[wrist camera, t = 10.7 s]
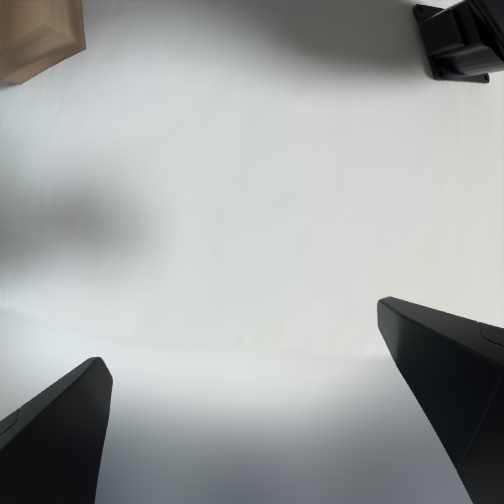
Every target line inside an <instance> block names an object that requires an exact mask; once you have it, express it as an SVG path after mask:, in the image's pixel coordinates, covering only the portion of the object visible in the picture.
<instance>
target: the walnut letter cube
mask: <svg viewBox="0 0 504 504" xmlns="http://www.w3.org/2000/svg"><path fill="white" fill-rule="evenodd" d="M85 49H86V43H85V35H84V25H83V15H82V2H81V0H0V80H3V81H8V82H13V83H17V84H23V83H24V82H26V81H28V80H29V79H31V78H32V77H34V76H36V75H38V74H39V73H41V72H43V71H44V70H46V69H48V68H50V67H52V66H53V65H55V64H57V63H59V62H61V61H63V60H65V59H67V58H69V57H71V56H73V55H75V54H77V53H79V52H81V51H83V50H85Z"/></svg>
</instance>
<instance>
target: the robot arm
mask: <svg viewBox="0 0 504 504" xmlns="http://www.w3.org/2000/svg"><path fill="white" fill-rule="evenodd" d="M418 9H419V10H420V11H421V12H420V11H419V10H418ZM413 12H414V14H415V17H416V20H417V23H418V25H419V28H420V31H421V34H422V37H423V41H424V44H425V47H426V50H427V54H428V57H429V61H430V65H431V68H432V72H433V75H434V77H435V79H436V80H438V81H456V82H471V83H483V84H485V83H489V75H488V73H492V72H498V71H504V0H463V1H461V2H459V3H457V4H454V5H452V6H450V7H448V8H446V9H442V8H437V7H432V6H426V5H420V4H417V5H415V6H414V7H413ZM438 72H439V73H440V76H439V74H438ZM484 78H485V79H484ZM377 315H378V327H379V330H380V332H381V334H382V336H383V338H384V340H385V343H386V345H387V347H388V349H389V351H390V353H391V355H392V358H393V360H394V362H395V364H396V366H397V368H398V369H399V371H400V373H401V374H402V376H403V378H404V379H405V381H406V382H407V384H408V385H409V387H410V389H411V391H412V392H413V394H414V396H415V397H416V399H417V401H418V402H419V404H420V406H421V408H422V409H423V411H424V413H425V414H426V416H427V418H428V420H429V421H430V423H431V425H432V426H433V428H434V430H435V432H436V434H437V435H438V437H439V439H440V441H441V443H442V444H443V446H444V448H445V450H446V452H447V454H448V455H449V457H450V459H451V461H452V463H453V465H454V467H455V468H456V470H457V473H458V475H459V477H460V478H461V480H462V482H463V484H464V486H465V488H466V490H467V492H468V494H469V496H470V498H471V500H472V502H473V504H504V328H500V327H496V326H492V325H489V324H485V323H482V322H477V321H474V320H471V319H467V318H464V317H460V316H457V315H453V314H450V313H446V312H443V311H439V310H436V309H432V308H429V307H425V306H422V305H418V304H415V303H411V302H408V301H404V300H401V299H397V298H394V297H386V298H383V299H380V300H379V301H378V303H377ZM112 385H113V379H112V376H111V374H110V372H109V370H108V368H107V367H106V365H105V363H104V361H103V360H102V358H100V357H92V358H89V359H87V360H86V361H84V362H83V363H82V364H80V365H79V366H77V367H76V368H74V369H73V370H72V371H70V372H69V373H68V374H66V375H65V376H63V377H62V378H60V379H59V380H58V381H56V382H55V383H54V384H52V385H51V386H49V387H48V388H46V389H45V390H44V391H42V392H41V393H39V394H38V395H37V396H35V397H34V398H32V399H31V400H30V401H28V402H27V403H25V404H24V405H23V406H21V407H20V408H19V409H17V410H16V411H14V412H13V413H11V414H10V415H9V416H7V417H6V418H4V419H3V420H1V421H0V504H95V496H96V495H95V494H96V488H97V481H98V475H99V468H100V463H101V456H102V451H103V446H104V440H105V435H106V429H107V425H108V419H109V412H110V401H111V393H112Z"/></svg>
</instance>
